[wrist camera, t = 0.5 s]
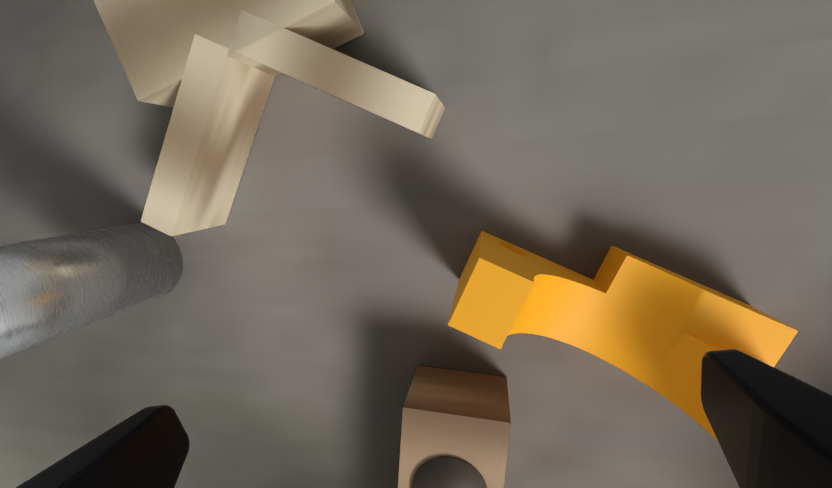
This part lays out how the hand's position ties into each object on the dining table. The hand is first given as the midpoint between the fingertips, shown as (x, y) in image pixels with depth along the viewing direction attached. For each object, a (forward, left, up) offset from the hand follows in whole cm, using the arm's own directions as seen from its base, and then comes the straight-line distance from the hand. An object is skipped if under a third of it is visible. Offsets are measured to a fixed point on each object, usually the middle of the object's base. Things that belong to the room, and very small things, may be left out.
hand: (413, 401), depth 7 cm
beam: (-12, -1, -14) cm, 18 cm away
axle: (-2, +16, -14) cm, 22 cm away
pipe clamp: (-1, -6, -14) cm, 16 cm away
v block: (+7, +9, -14) cm, 18 cm away
